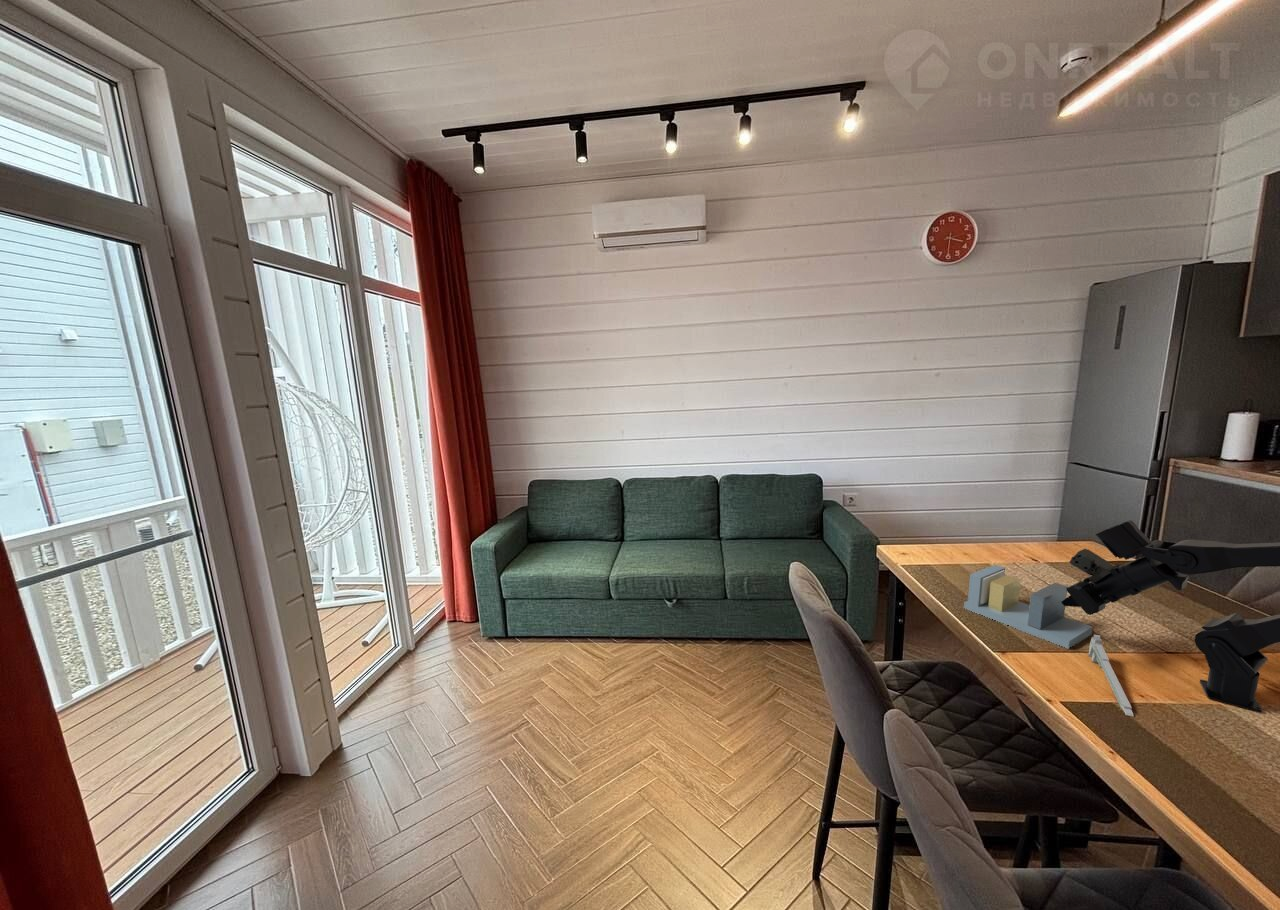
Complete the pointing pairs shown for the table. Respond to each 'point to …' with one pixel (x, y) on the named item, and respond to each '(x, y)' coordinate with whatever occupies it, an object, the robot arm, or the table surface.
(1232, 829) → the table surface
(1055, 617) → the sliding jaw
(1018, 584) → the pale yellow wooden block
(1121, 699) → the caliper
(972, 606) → the vise
